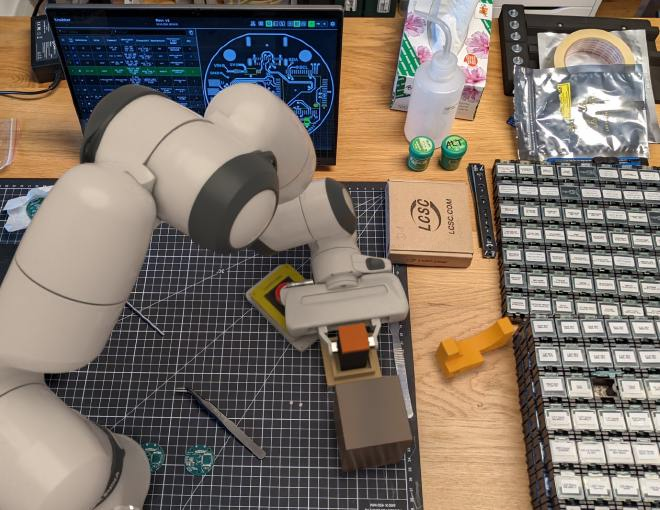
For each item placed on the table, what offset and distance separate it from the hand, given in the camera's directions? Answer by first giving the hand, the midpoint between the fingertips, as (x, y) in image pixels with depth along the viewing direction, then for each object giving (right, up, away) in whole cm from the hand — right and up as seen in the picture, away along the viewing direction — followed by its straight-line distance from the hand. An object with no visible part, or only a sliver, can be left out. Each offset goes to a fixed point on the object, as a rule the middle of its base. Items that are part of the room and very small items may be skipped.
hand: (353, 352), depth 98 cm
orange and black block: (0, -2, +5) cm, 5 cm away
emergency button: (-11, +6, +10) cm, 16 cm away
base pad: (0, -2, +6) cm, 6 cm away
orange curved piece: (+20, -2, +7) cm, 21 cm away
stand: (+2, -14, -1) cm, 14 cm away
